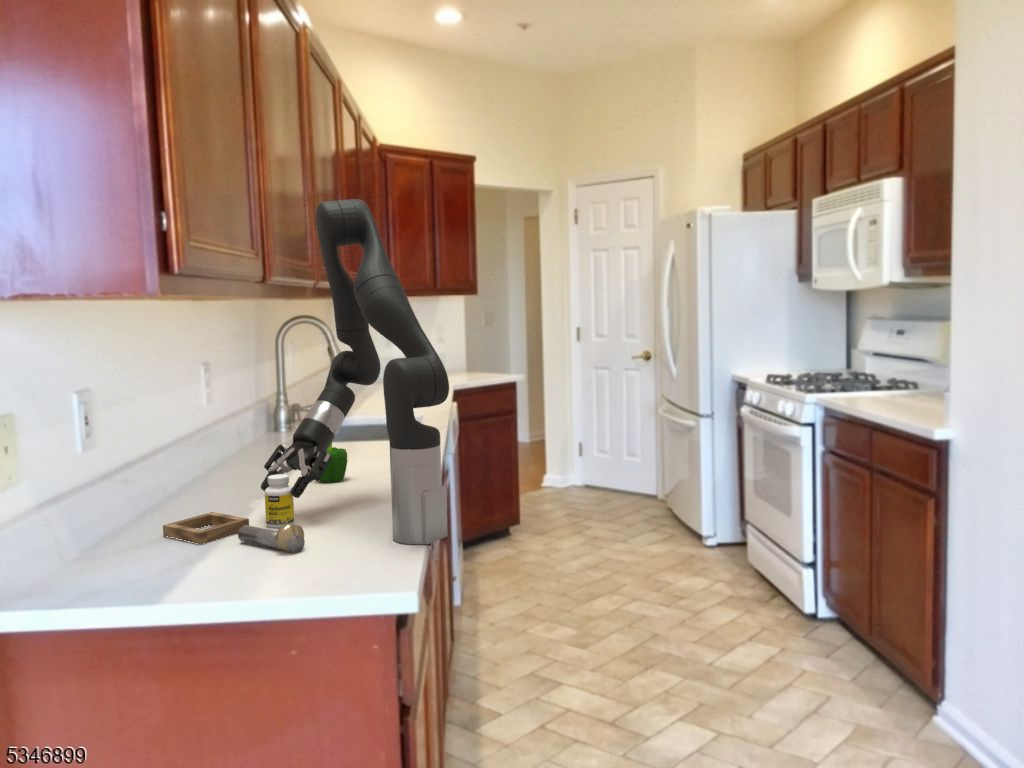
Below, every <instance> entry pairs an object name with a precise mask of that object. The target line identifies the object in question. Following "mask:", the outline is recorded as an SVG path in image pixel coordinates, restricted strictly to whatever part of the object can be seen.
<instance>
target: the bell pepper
mask: <svg viewBox="0 0 1024 768" xmlns="http://www.w3.org/2000/svg"><path fill="white" fill-rule="evenodd" d="M326 452H328V454H329V455H330V456H331V457H332V459H331V461H330V463H329V464H328V466H327V468H326V470H325V472H324V474H323V476H322V478H321V479H320V480H319V481H318V482H321V483H331V482H333V483H334V482H335V483H336V482H340V481H343V480H344V478H345V476H346V471H347V467H348V452H347V449H346V448H338V447H334V446H333V442H332V443H331V445H330V446H329V448H328V450H327V451H326ZM318 471H319V468H318V469H317V471H316V472H317V473H318Z"/></svg>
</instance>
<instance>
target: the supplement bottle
mask: <svg viewBox="0 0 1024 768" xmlns="http://www.w3.org/2000/svg"><path fill="white" fill-rule="evenodd" d="M289 477H290V476H289V475H288V474H285V473H284V474H277V475H271V476H268V484H269V487H268V488H266V490H265V492H264V507H265V510H264V511H265V524H266V527H268V528H272V529H277V528H278V529H279V528H280V527H281V526H282V525H283V524H285V523H291V524H295V505H294V496H293V495H292V494H291V493H290V491H291V489H292V487H293V486H291V485H289V483H290V478H289Z"/></svg>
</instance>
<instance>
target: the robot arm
mask: <svg viewBox="0 0 1024 768" xmlns="http://www.w3.org/2000/svg"><path fill="white" fill-rule="evenodd" d="M316 207H317V208H316V211H315V226H316V233H317V238H318V243H319V248H320V251H321V255H322V260H323V264H324V269H325V273H326V277H327V281H328V284H329V285H328V286H329V289H330V293H331V299H332V305H333V314H334V324H335V332H336V338H337V340H338V341H339V342H341V343H343V344H345V345H347V346H348V347H350V349H351V350H342V351H341V352H339V353H338V354H336V355H335V356H334V357H333V359H332V361H331V364H330V368H329V371H328V374H327V377H326V382H325V385H324V388H323V389H322V391H321V393H320V394H319V396H318V397H317V398H316V400H315V402H314V403H313V404H312V405H311V407H310V408H309V410H308V411H307V412H306V414H305V415H304V417H303V418H302V421H301V422H300V424H299V425H298V427H297V428H296V429H295V431H294V433H293V435H292V443H291V445H290V446H289V447H284V445H283V444H282V443H281V444H278V446H277V447H276V448H275V449H274V451H273V452H272V454H271V455H270V457H269V458H268V459H267V461H266V462H265V464H264V465H263V468H264V469H265V470H266V471H267V472H268V473H267V474H266V476H265V477H264V479H263V481H262V482H261V485H260V488H261V490H262V491H263V492H264V493H265V490H266V488H268V487H269V484H268V476H271V475H277V474H285V473H287V474H288V473H290V472H291V471H300V476H298V477H297V479H296V481H295V482H294V484H293V486H291V487H292V489H291V491H290V493H291V494H292V495H293V498H296V499H299V498H300V497H301V495H303V493H304V491H305V490H306V489H307V487H308V485H309V484H310V483H311V484H312V482H313V481H316V482H320V481H319V480H320V479H321V478H322V476H323V474H324V472H325V470H326V468H327V466H328V464H329V463H330V461H331V459H332V457H331V456H330V455H329V454H328V452H326V451H327V450H328V448H329V446H330V445H331V443H332V444H333V441H334V440H335V438H336V437H337V434H338V433H339V431H340V429H341V427H342V425H343V423H344V420H345V419H346V417H347V415H348V413H349V412H350V411H351V409H352V408H353V405H354V403H355V402H356V395H355V393H354V391H353V390H352V389H351V388H350V387H349V386H348V384H355V385H360V386H370V385H373V384H374V383H376V382H377V381H378V379H379V377H380V374H381V361H380V357H379V354H378V351H377V348H376V346H375V343H374V340H373V338H372V335H371V333H370V327H372V328H373V329H374V330H375V331H376V332H378V333H379V335H381V336H383V337H384V338H385V339H386V340H387V341H389V342H391V343H392V344H393V345H394V346H395V347H396V348H397V349H399V350H400V351H401V352H402V353H403V355H404V357H401V358H400V357H399V358H392V359H390V360H389V361H388V362H387V363H386V365H385V368H384V370H383V378H382V379H383V381H382V388H383V398H384V407H385V419H386V421H385V423H386V431H387V434H388V440H389V465H390V466H389V467H390V471H389V472H390V493H391V495H390V496H391V519H392V539H393V541H395V542H396V543H400V544H403V545H404V544H407V545H419V544H420V545H421V544H422V545H429V544H433V543H434V542H438V541H439V540H441V539H444V538H446V537H448V536H449V535H448V533H449V532H448V507H447V506H448V502H447V501H448V500H447V498H448V497H447V496H448V495H447V486H446V485H444V484H442V455H441V454H442V452H441V450H442V449H441V432H440V430H439V429H438V428H437V427H435V426H432V425H428V424H424V423H422V422H420V421H418V420H417V419H416V416H415V411H414V409H422V408H429V407H436V406H439V405H441V404H443V403H444V402H446V401H447V399H448V397H449V393H450V381H449V377H448V373H447V370H446V368H445V366H444V363H443V361H442V359H441V358H440V356H439V355H438V353H437V351H436V350H435V348H434V347H433V344H432V343H431V341H430V340H429V338H428V336H427V334H426V333H425V331H424V330H423V328H422V326H421V325H420V322H419V320H418V318H417V316H416V314H415V312H414V310H413V308H412V305H411V304H410V301H409V298H408V296H407V294H406V292H405V289H404V287H403V285H402V283H401V280H400V279H399V277H398V275H397V273H396V271H395V269H394V268H393V265H392V262H391V260H390V258H389V256H388V253H387V251H386V250H385V247H384V244H383V241H382V238H381V236H380V232H379V230H378V227H377V225H376V220H375V217H374V215H373V213H372V211H371V209H370V207H369V205H368V204H367V203H366V202H365V201H364V200H362V199H358V198H352V199H351V198H350V199H339V200H337V199H336V200H327V201H322V202H320V203H319V204H318V205H317V206H316ZM353 245H360V247H361V248H362V249H363V250H362V251H363V256H362V260H361V262H360V265H359V267H358V269H357V272H356V275H355V279H352V277H351V276H350V275H349V274H348V272H347V271H346V269H345V267H344V265H343V264H342V261H341V258H340V254H339V250H338V247H342V246H343V247H346V246H353ZM353 280H354V281H353ZM285 463H286V464H285ZM279 468H280V469H279ZM318 468H319V471H318V473H317V472H316V471H317V469H318Z"/></svg>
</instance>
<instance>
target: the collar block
mask: <svg viewBox="0 0 1024 768" xmlns="http://www.w3.org/2000/svg"><path fill="white" fill-rule="evenodd" d="M208 525H211V526H208ZM212 525H215V526H212ZM244 525H248V526H250V519H249V518H247V517H242V516H235V515H232V514H231V515H230V514H224V513H220V512H215V511H211V512H210V511H209V512H208V513H207V512H206V513H204V514H200V515H195V516H192V517H188V518H185V519H182V520H177V521H174V522H171V523H167V524H163V525H162V532H163V533H162V534H163V535H162V536H168V537H174V538H178V539H182V540H186V541H190V542H194V543H198V544H202V545H204V544H203V543H205V544H208V543H207V542H209V543H211V542H210V541H212V542H214V541H213V540H215V541H217V540H216V539H218V540H221V539H220V538H222V539H224V538H223V537H225V538H228V537H230V535H231V536H234V535H238V532H239V530H240V528H241V527H242V526H244ZM204 526H208V528H207V527H206V528H205V527H204ZM201 527H204V529H203V528H201ZM196 528H201V529H196ZM227 536H228V537H227ZM194 543H193V544H194ZM198 544H197V545H198Z"/></svg>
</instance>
